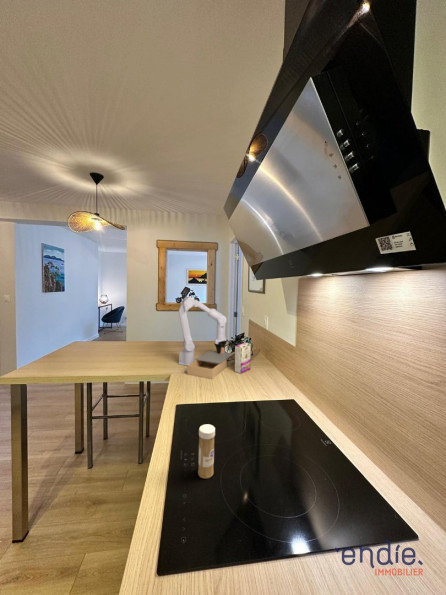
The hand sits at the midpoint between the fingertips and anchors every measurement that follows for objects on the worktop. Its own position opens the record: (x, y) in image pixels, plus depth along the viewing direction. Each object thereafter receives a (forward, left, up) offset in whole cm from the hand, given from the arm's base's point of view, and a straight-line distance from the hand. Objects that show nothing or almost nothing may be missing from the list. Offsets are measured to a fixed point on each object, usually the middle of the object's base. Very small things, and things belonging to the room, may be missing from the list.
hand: (220, 352), depth 173 cm
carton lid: (0, -9, -1) cm, 9 cm away
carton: (0, -20, -7) cm, 21 cm away
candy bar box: (+19, -10, -7) cm, 22 cm away
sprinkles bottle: (+35, -95, -7) cm, 101 cm away
